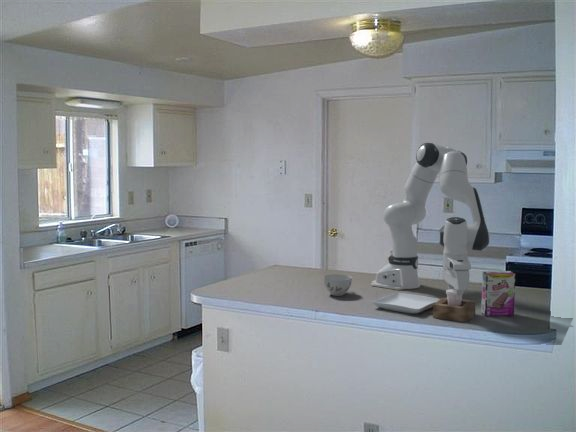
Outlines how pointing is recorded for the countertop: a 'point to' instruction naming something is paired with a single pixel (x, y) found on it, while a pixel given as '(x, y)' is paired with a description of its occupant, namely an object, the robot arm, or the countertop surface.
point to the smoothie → (453, 297)
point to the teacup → (337, 283)
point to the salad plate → (405, 303)
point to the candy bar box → (498, 293)
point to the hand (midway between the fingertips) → (454, 297)
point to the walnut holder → (454, 310)
